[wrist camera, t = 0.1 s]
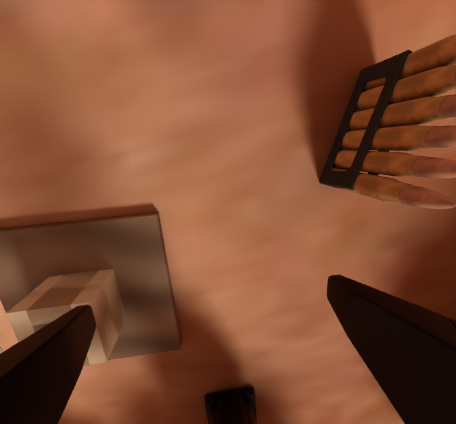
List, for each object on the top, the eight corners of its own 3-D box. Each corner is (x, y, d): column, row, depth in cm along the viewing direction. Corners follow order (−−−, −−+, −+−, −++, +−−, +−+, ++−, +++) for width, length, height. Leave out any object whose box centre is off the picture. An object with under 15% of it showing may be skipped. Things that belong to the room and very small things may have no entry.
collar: (126, 319, 24) (107, 362, 19) (66, 327, 24) (32, 373, 19) (113, 268, 22) (89, 302, 18) (49, 276, 22) (6, 313, 17)
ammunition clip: (361, 68, 21) (560, -28, 9) (378, 75, 21) (590, -9, 10) (318, 182, 23) (431, 218, 12) (334, 187, 24) (459, 226, 12)
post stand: (181, 341, 27) (174, 404, 20) (37, 363, 26) (-19, 436, 19) (158, 212, 22) (140, 239, 16) (-18, 230, 21) (-116, 268, 15)
